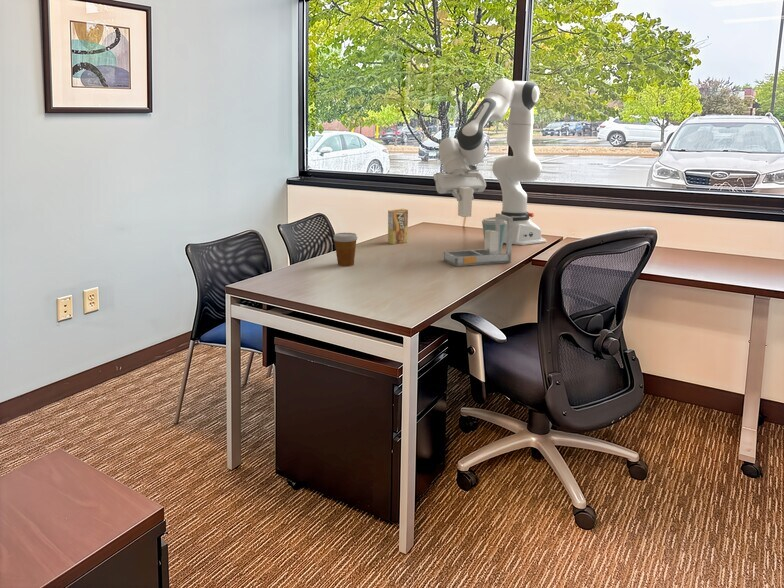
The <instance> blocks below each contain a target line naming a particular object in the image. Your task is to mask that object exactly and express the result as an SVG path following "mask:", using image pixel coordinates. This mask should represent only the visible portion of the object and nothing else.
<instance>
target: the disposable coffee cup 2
mask: <svg viewBox="0 0 784 588" xmlns="http://www.w3.org/2000/svg"><path fill="white" fill-rule="evenodd" d="M495 219H496V216H495V217H494V216H493V217H492V216H491V217H487V218H483V220H482V221H481V225H482V233H483V240H484V242H483V243H485V230H494V231H495ZM506 224H507V221H506V220H502V219H500V242H499V254H502V250H503V245H504V243H503V240H504V235H505V229H506Z"/></svg>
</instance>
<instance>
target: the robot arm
mask: <svg viewBox="0 0 784 588" xmlns="http://www.w3.org/2000/svg"><path fill="white" fill-rule="evenodd" d="M539 99H540V87H539V85H538V83H537V82H534V81H531V80H528V81H525V80H513V81H512V80H510V79H509V78H506V77H504V78H503V77H502V78H501V77H500V78H498V79H496V80H495V81H494V83H493V84H492V85H491V86H490V87H489V89H488V91H487V92H486V94H485V96H484V98H483V100H481V101H480V103H479V104H478V106H477V107H476V109H475V110H474V112H473V113H472V115H470V118H469V120H467V121H466V122H465V123H464V124H463V125H461V127H460V128H459V129H458V130H457V133H456V138H455V137H453V136H448V137H445V138H444V139H442V140H441V142H439V144H438V155H439V158H440V162H441V163H442V165H443V172H435V173H434V174H433V180H434V182H435V188H436V192H437V193H438V194H440V195H441V194H452V196H453V197H454V198H455V199H456V201H457V202H458V201H461V200H462V197H461V195H459V188H460V187H469V188H472V201H473V200H474V198H475V197H474V193H484V191H485V189H486V187H487V182H486V180H485V177H484V176H483V174H482V173H481V172H480V168H479V166H477V165H478V164H479V163H481V162H482V161H483V160H484V159H485V155H486V154H485V153H486V152H485V145H484V136H483V135H484V127H485V125H486V124H487V122H488V121H490V122H500V121H501V120H502V119H503V118H504V117H505V116H506V115H507V113H508V110H509V109H510V111H509V114H508V115H509V116H508V120H507V121H508V123H507V131H506V132H507V133H506V142H507V144H508V146H509V147H510V148H511V151H512V153H513V155H512V156H511V155H503V156H499V157H498V158H495V160H494V161H493V164H492V169H491V170H492V173H493V175H494V177H495V178H496V179H497V180H498V182H499V184H500V189H501V193H502V194H501V195H502V209H501V212H500V214H502V215H506V216H509V217H512V218H513V226H512V245H518V246H527V245H532V244H533V245H534V244H541V243H547V239H546V238H544V237H542V231H541V228H540V227H539V226H538V225H537V224H536V223H534V221H533V220H531V218H533V217H534V215H535V214H534V212H528V211H527V209H528V208H527V207H528V194H527V192H526V191H525V190H524V189H523V187H522V185H521V182H522V183H528V182H530V183H531V182H535V181H537V180H538V179H539V178H540V176H541V174H542V164H541V162H540V161H539V160H538V159H537V157H536V154H535V153H534V148H533V131H534V130H533V129H534V107H535V106H536V105H537V103H538V102H539ZM507 222H508V221H507ZM506 243H507V224H506V229H505V235H504V240H503V244H506Z"/></svg>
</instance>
